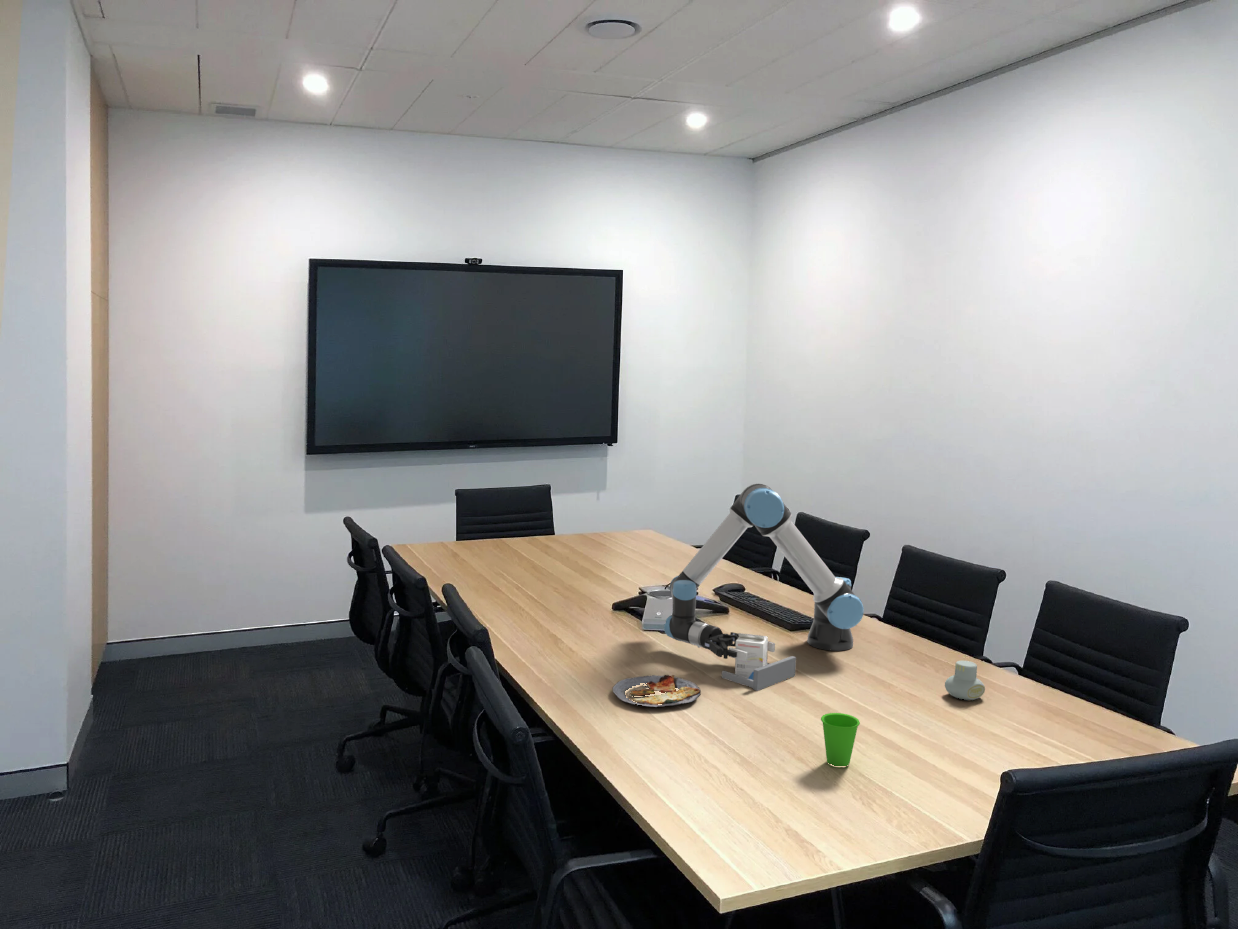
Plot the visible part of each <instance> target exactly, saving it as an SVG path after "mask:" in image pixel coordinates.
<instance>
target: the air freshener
mask: <svg viewBox="0 0 1238 929" xmlns="http://www.w3.org/2000/svg"><path fill="white" fill-rule="evenodd" d="M954 667H955V668H954V674H953V675H951V676H949V677H947V679H946V680H945V681H944V688H945V691H946V692H947V693H948V694H950V695H951V696H952V697H953V698H956V699H958V698H959V700H962V699H964V700H963V701H968V700H972V701H974V700H977V699H980V698H981V697H982V696H983V695H984V694H985V692H986V686H985V684H984V683H983V681H981V679H979V678H977V675H978V674H977V673H978V665H977V664H976V663H975V662H973V661H971V660H969V661H968V660H957V661H956V662H955V665H954Z"/></svg>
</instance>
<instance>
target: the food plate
mask: <svg viewBox="0 0 1238 929" xmlns="http://www.w3.org/2000/svg"><path fill="white" fill-rule="evenodd" d="M640 683H645V684H646V683H647V684H646V685H647V686H646V688H647V687H648V688H649V689H645V688H642V689H641V688H640V689H634V690H630V692H631V693H630V692H629V694H631V696H633V697H634V696H645V695H650V694H655V692H654V691H659V692H661V693H665V692H666V693H665V694H661V695H654V696H650V697H648V696H647V697H641V698H632V700H633V701H635V702H633V701H632V700H631V699H630V697H628V698H626V695H625V691H626V690H628V689H629V688H632V686H636V685H640ZM643 685H644V684H643ZM675 688H678V689H679V690H678V691H676V689H675ZM701 692H702V691H701V688H700V687H699V686H698V685H697V684H696V683H695V682H693V681H691V680H689V679H685V678H681V677H679V676H675V675H673V674H672V675H669V674H664V675H655V674H652V675H651V674H650V675H642V676H635V677H627V678H625V679H620V681H617V682H616V683H615V684H614V686H613V687H612V693H613V694H615V696H616V697H617V698H618V699H619V700H621V701H623V702H625V703H629V704H631V705H635V704H637V705H636V706H638V705H642V706H641V707H655V708H657V707H665V706H666V707H667V706H677V705H681V704H687V703H692V702H695V701H697V699H698V698H700V697H701V694H702V693H701ZM629 699H630V700H629ZM636 702H637V703H636ZM658 704H662V705H658Z"/></svg>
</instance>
